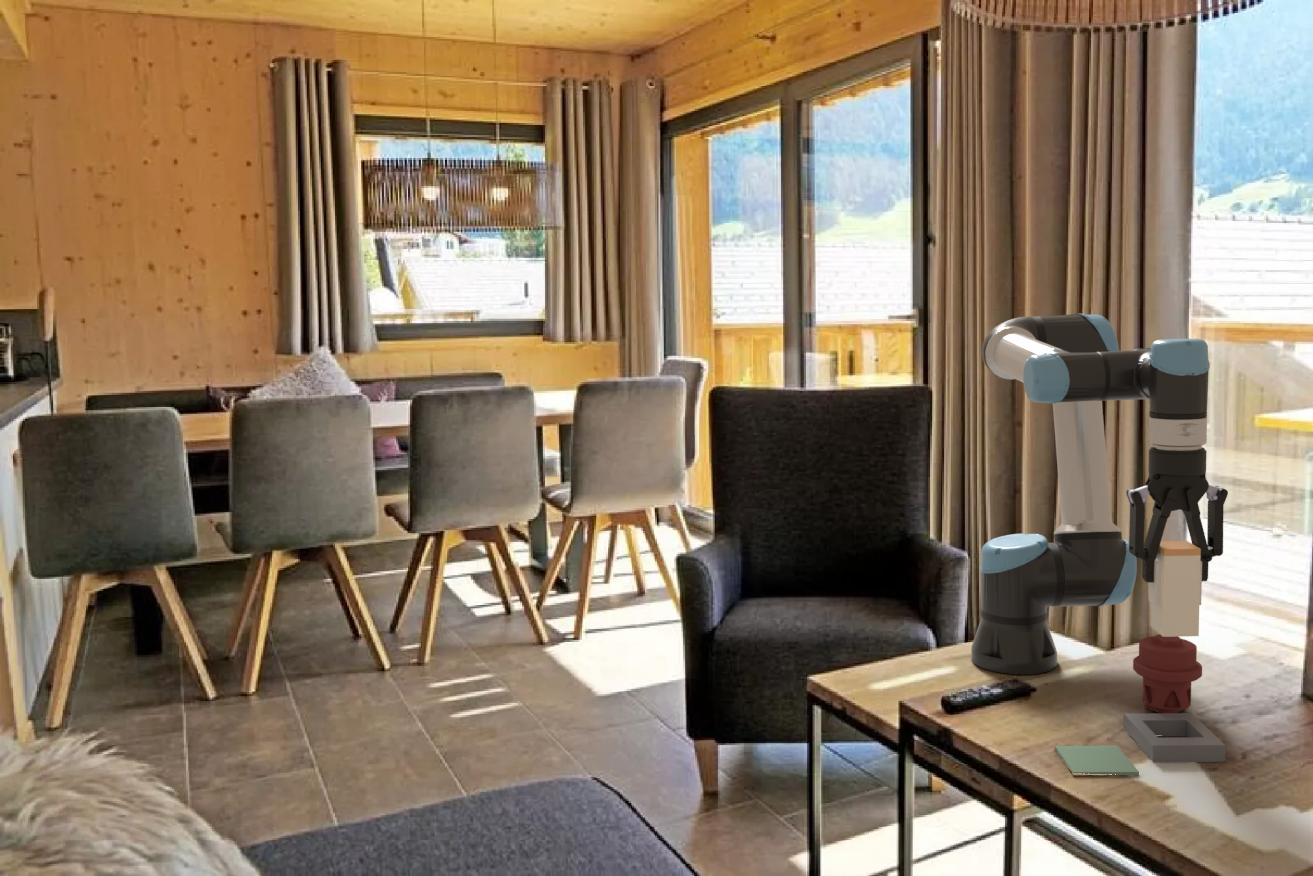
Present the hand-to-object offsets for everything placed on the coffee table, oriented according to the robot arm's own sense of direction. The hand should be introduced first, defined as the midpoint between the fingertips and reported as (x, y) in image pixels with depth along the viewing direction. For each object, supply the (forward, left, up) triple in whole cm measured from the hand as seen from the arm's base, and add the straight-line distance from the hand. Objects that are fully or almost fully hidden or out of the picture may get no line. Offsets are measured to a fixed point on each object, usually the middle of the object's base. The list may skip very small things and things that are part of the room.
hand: (1174, 602), depth 158 cm
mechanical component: (-13, +4, -22) cm, 26 cm away
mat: (+6, -13, -22) cm, 26 cm away
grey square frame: (0, 0, -22) cm, 22 cm away
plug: (0, 0, -4) cm, 4 cm away
